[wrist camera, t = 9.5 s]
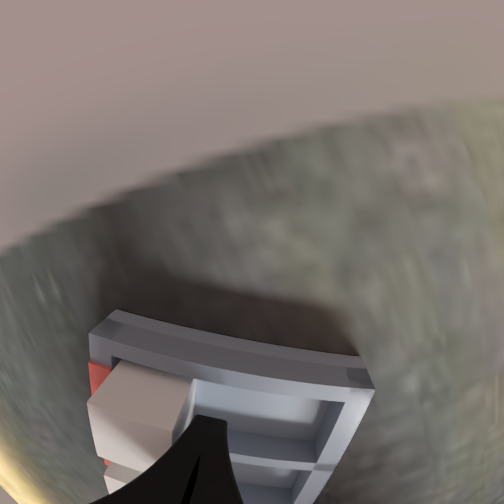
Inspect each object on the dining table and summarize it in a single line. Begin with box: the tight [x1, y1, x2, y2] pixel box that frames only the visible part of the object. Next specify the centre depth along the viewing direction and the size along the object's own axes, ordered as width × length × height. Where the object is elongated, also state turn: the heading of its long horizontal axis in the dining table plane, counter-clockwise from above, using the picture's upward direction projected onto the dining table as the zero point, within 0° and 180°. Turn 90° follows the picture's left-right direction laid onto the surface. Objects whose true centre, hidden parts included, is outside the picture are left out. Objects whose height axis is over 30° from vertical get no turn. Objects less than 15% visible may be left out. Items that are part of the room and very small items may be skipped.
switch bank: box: [88, 309, 375, 504], centre depth 13 cm, size 11×14×3 cm
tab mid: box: [104, 461, 143, 494], centre depth 12 cm, size 3×3×4 cm
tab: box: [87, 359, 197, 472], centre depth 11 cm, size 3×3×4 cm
